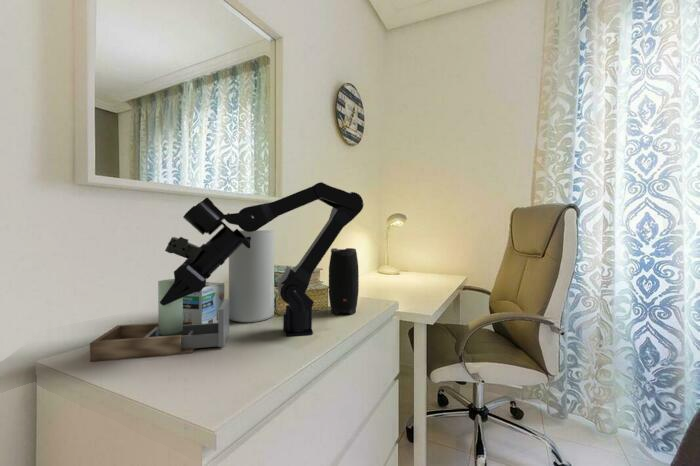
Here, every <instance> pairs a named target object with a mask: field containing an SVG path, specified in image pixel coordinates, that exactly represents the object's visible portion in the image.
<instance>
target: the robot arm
mask: <svg viewBox="0 0 700 466" xmlns="http://www.w3.org/2000/svg"><path fill="white" fill-rule="evenodd" d="M315 201H320V202H322V203H324V204H325V205H328V206H329V207H331V210H330V215H329V216H328V217H329V218H328V220H327V221H326V223H325V224H324V226H323V227H322V229H321V230H320V232H319V233H318V235H317V236H316V238H315V239H314V240H313V242H312V243H311V245H310V246H309V248H308V249H307V251H306V252H304V255H303V257H301V259H300V261H299V262H298V263H297V265H295V266H294V267H293V268H291V267H290V266H286V268H285V270H284V272H283V273H282V275H281V276H280V277H278V278H277V279H278V283H277V292H278V294H279V296H280V297H281V300H282V301H283V302H284V303H286V304H287V305H285V311H284V312H283V313H282V330H283V332H285V336H286V337H289V336H290V337H291V336H303V335H312V334H314V331H313V329H312V328H313V327H312V326H313V325H312V324H313V311H312V310H313V306H314V300H313V299H312V298H311V296H309V295H308V294H307V293H306V292H307V289H308V287H309V284H310V281H311V278H312V275H313V273H314V271H315V270H316V269H317V267H318V265H319V264H320V263H321V261H322V259H323V258H324V257H325V255H326V254H327V252H328V250H329V249H330V248H331V246H332V245H333V243H334V242H335V240H336V239H337V237H338V236H339V235H340V233H341V231H342V230H343V229H344V228H345V226H347V225H348V224H349V223H351V222H352V221H353V220H354V219H355V218H356V217H357V216H358V215H359V214H360V213H361V212H362V210H363V209H364V205H365V204H364V199H363V198H362V196H361V195H360V193H357V192H355V191H352V192H351V191H350V192H347V191H345V190H343V189H340V188H337V187H334V186H331V185H328V184H327V183H325V182H322V181H320V182H317V183H316V184H313V185H312V186H310V187H307V188H305V189H302V190H300V191H297V192H294V193H292V194H290V195H287V196H284V197H282V198H279V199H277V200H274V201H271V202H266V203H261V204H256V205H251V206H246V207H243V208H242V209H240V210H239V211H238V212H234V213H229V212H228V213H227V214H224V212H222V210H220V208H218V207H217V206H216V205H215V204H214V202H213V201H212V199H210V198H209V197H205V198H203V200H202V201H200V202H198V203H197V204H195V205H193V206H192V207H191V208H190V209H189V210H187V212H186V213H185V214H184V215H183V219H184V220H185V221H186V222H187V223H189V224H190V225H191V226H192V227H193V228H194V229H195V230H196V231H197V232H199V233H200V234H201V235H202V236H204V235H205V234H208V235H209V236H211V235H212V234H213V233H215V232H216V231H217V230H218V229H219V228H220V227H221V226H223V227H222V228H220V230H218V232H216V234H214V235H213V236H212V237H211V238H210V239H209V240H208V241H207V242H206V243H203V244H201V246H198V245H195V244H193V243H191V242H189V239H188V238H184V237H183V236H179V238H178V237H176V236H173V237H172V236H171V238H170V240H169V242H168V243H167V246H166V248H165V249H164V251H165V252H167V253H168V254H174V255H175V256H176V255H177V256H179V257H182V258H184V259H185V261H183V262H182V264H180V265H179V266H178V267H177V268H176V269H175V270H174V271H173V275H174V278H173V279H175V282H174V283H173V285H172V286H171V288H170V289H169V290H168V292H167V293H166V294H165V296H164V297H163V298H162V300H161V301H160V304H162V305H163V306H164V305H167V304H169V303H171V302H173V301H176V300H178V299H180V298H182V297H185V296H187V295H189V294H192V293H194V292H198V293H199V292H200V291H201V290H202V289H203V288H204V287H205V286H206V282H207V279H209V278H210V277H211V276H212V274H213V273H214V272H215V271H216V270H217V269H218V268H219V267H220V266H223V264H225V261H226V260H228V259H229V256H230V255H231V254H232V253H233V252H234V251H236V250H237V249H238V248H239V247H240V246H241V245H242V244H244V245H245V246H246V247H247V248H250V247H251V246H250V240H251V237H245V236H244V235H243V234H242V233H241V232H240V231H239V230H240V229H241V230H244V231H247V232H253V231H256V230H259V229H261V228H263V227H264V226H265V225H267V224H268V223H270V222H272V221H273V220H275V219H276V218H278V217H280V216H281V215H284V214H286V213H288V212H289V213H290V212H291V211H294V210H297V209H299V208H301V207H304V206H305V205H309V204H310V203H313V202H315ZM224 220H225V222H227V223H228V224H231V225H236V226H238V227H239V228H240V229H238V228H236V229H235V231H234V232H233V231H232V230H233V229H231V228H230V227H229V226H227V224H226V223H224Z"/></svg>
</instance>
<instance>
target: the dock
mask: <svg viewBox="0 0 700 466" xmlns="http://www.w3.org/2000/svg"><path fill="white" fill-rule="evenodd" d="M190 324H193V321H183V325H190ZM155 327H159V322H150V323H147V322H146V323H134V324H133V323H132V324H118V325H116V326H114V327H112V328H111V329H109V330H108V331H106V332H105V333H103V334H102V335H100V336H99V337H97V338H95V339H94V340H93V341H91V342H89V361H90V362H91V363H92V362H102V361H113V360H124V359H125V360H126V359H138V358H149V357H160V356H162V357H163V356H172V355H174V356H175V355H184V354H193V352H194V350H195V349H196V348H191V349H181V335H173V336H159V337H145V336H146V335H147V334H148V333H150V332H151V331H152V330H153V329H154V328H155Z"/></svg>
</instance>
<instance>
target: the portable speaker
mask: <svg viewBox="0 0 700 466" xmlns="http://www.w3.org/2000/svg"><path fill="white" fill-rule="evenodd" d="M357 253H358V252H357V250H356V248H353V247H352V248H351V247H350V248H349V247H348V248H343V249H338V247H337V248H334V247H333V248H331V249H330V257H329V258H330V259H329V265H328V297H329V298H328V299H329V306H330V314H333V315H335V316H336V315H337V316H338V315H339V314H340V313H347V314H348V315H353V314H352V313H355V314H356V312H357V307H358V306H357V305H358V299H359V289H360V288H359V282H360V281H359V278H360V276H359V261H358V260H359V259H358V254H357Z"/></svg>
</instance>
